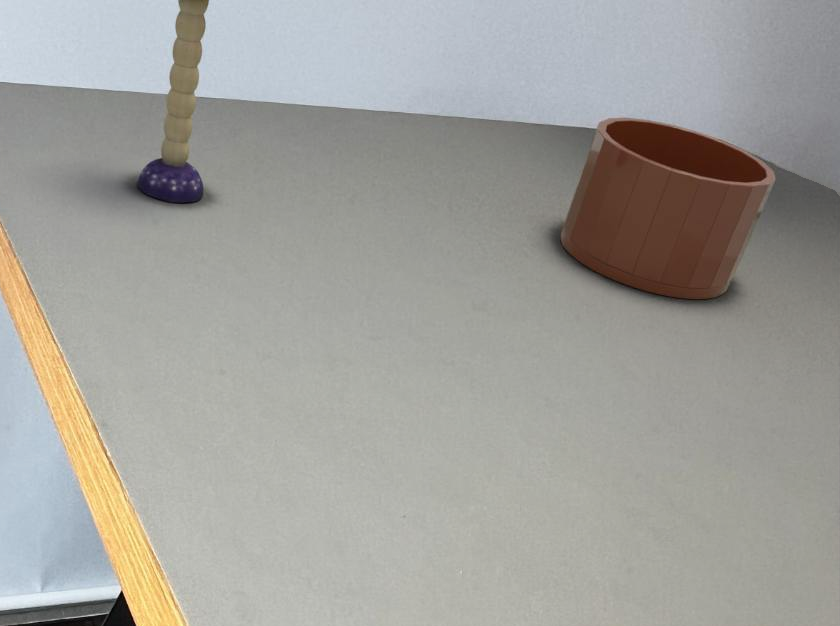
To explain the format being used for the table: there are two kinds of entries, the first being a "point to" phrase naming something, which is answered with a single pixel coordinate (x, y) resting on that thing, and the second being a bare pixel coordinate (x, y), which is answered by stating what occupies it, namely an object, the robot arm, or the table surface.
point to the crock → (665, 208)
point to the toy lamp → (179, 113)
